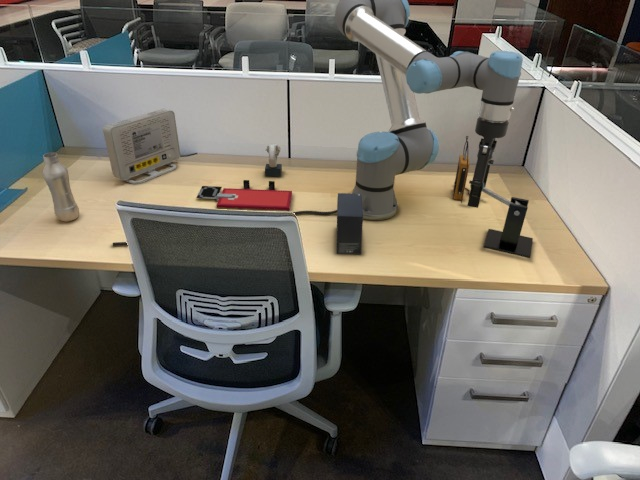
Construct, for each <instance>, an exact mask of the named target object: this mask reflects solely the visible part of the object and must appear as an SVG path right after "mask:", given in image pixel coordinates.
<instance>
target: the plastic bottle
mask: <svg viewBox="0 0 640 480" xmlns="http://www.w3.org/2000/svg"><path fill="white" fill-rule="evenodd" d="M42 159H43V162H44V164H45V165H44V167H43V170H42V176H43V179H44V181H45V183H46V185H47V188H48V190H49V192H50V194H51V198H52V199H51V200H52V203H53V211H54V215H55V217H56V218H57V219H58V220H59V221H60V222H71V221H74V220H76V219H78V217H79V215H80V209H79V205H78V203H77V202H76V200H75V197H74V195H73V192H72V188H71V183H70V175H69V169H67V167H66V166H65V164H63V163H62V162H60V158H59V155H58V153H57V152H47V153H44V154H43V155H42Z"/></svg>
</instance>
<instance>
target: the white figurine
mask: <svg viewBox="0 0 640 480" xmlns="http://www.w3.org/2000/svg"><path fill="white" fill-rule="evenodd" d="M264 151H266V152H267V154H268V163H265V167H264V173H265V174H264V175H265V176H264V177H265V178H281V177H282V173H283V167H282V165H283V164H282V163H278V157H279V155H280V153H281V146H280V145H279V144H276V143H269V144H268V145H267V146H266V147H265V150H264Z"/></svg>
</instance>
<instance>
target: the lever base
mask: <svg viewBox="0 0 640 480" xmlns="http://www.w3.org/2000/svg"><path fill="white" fill-rule="evenodd" d="M510 201H511V202H512V203H515V201H518V202H519V203H521V204H523V205H525V206H523V205H517V204H512V203H510V205H509V206H508V209H507V213H506V216H505V221H504V225H503V228H502V230H497V229H493V228H488V230H487V233H486V237H485V241H484V243H483V248H484V249H488V250H492V251H497V252H500V253H505V254H510V255H515V256H517V257H523V258H527V259H531V256H532V248H533V240H534V238H533V237H529V236H524V235H521V233H522V230H523V226H524V222H525V219H526V215H527V212H528V208H529V202H530V200H529V199H525V198H520V197H514V196H511V198H510Z"/></svg>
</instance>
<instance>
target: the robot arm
mask: <svg viewBox="0 0 640 480" xmlns="http://www.w3.org/2000/svg"><path fill="white" fill-rule="evenodd" d="M334 11H335V12H334V20H335V21H334V22H335V24H336V27H337V29H338V31H340V33H342V36H344V37H346V38H347V39H348V40H350V41H352V42H354V43H355V42H359V43H360V44H362V45H363V46H364V47H366V48H367V49H368V50H370V51H371V52H372V53H373V54H375V58H376V61H377V66H378V71H379V75H380V79H381V80H380V81H381V84H382V88H383V93H384V97H385V101H386V105H387V111H388V115H389V119H390V123H391V126H390V127H389V129H388V131H374V132H370V133H368V134H366V135H364V136H363V137H361V138H360V140H359V141H358V145H357V150H356V168H355V170H356V172H355V185H354V187H353V190H352V192H351V193H358V194H361V195H362V207H363V220H366V221H367V220H368V221H383V220H388V219H391V218H392V217H394V216H395V215H396V214H397V213H398V206H399V205H398V200H397V197H396V192H395V188H394V187H395V180H396V179H395V178H396V176H398V175H402V174H406V173H410V172H415V171H419V170H423V169H424V168H427V167H430V166H431V165H432V164H433V163H434V162H435V161H436V159H437V157H438V155H439V150H440V143H439V139H438V136H437V134H436V133H435V132H434V131H433V130H432V129H430V128H428V126H427V123H426V121H425V120H423V119H422V118H421V117H420V114H419V110H418V109H419V108H418V105H417V100H416V96H415V94H431V93H435V92H436V93H437V92H440V91H445V90H452V89H458V88H464V87H470V88H473V89H476V90H480V91H482V93H481V98H480V101H479V108H478V111H477V112H478V113H477V117H478V118H477V119H476V124H475V129H474V131H475V134H476V135H478V136H481V137H482V138H481V139H480V141H479V144H478V151H477V154H476V157H477V160H476V163H475V167H474V173H473V177H472V179H471V180H469V182H468V184H469V185H471V184H472V185H471V188H470V190H469V194H470V195H469V194H468V200H467V204H466V205H467V207H472V208H476V209H478V208H479V205H480V202H481V200H480V198H481V196H482V188H483V182H484V187H485V188H486V186H487V181H488V177H489V173H490V167H491V165H494V162H495V160H494V159H493V154H494V152H495V151H496V147H497V145H498V140H496V139H501V138H504V137H505V136H506V135H507V132H508V127H509V124H510V123H509V120H510V119H511V115H512V112H515V109H516V108H515V106H514V102H515V96H516V93H517V88H518V84H519V81H520V78H521V75H522V68H523V62H524V61H523V60H524V57H523V55H522V54H521V53H519V52H515V51H510V50H509V51H508V50H495V51H492V52H490V54H489V57H487V56H483V55H479V54H475V53H473V52H471V51H462V50H458V51H455V52H453V53H452V54H451V55H449V56H444V57H443V56H442V57H438V56H435V55H434V54H432V53H431V52H429V51H428V50H426V49H425V48H423V47H422V46H421V45H419V44H417V43H415V42H414V41H412V40H411V39H409V37H407V36H405V34H406V32H407V30H406V27H407V25H408V24H409V21H410V19H409V17H410V16H411V9H410V3H409V1H408V0H339V1H338V3H337V5H336V7H335V10H334ZM513 106H514V107H513ZM293 213H295V214H296V215H295V216H297V215H306V214H308V215H311V214H312V215H321V216H326V215H327V216H329V215H334V214H335V215H336V214H337V209H334V210H331V211H317V210H299V211H293ZM126 242H127V241H120V242H112V246H113V247H119V246H128V245H127V243H126Z"/></svg>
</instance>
